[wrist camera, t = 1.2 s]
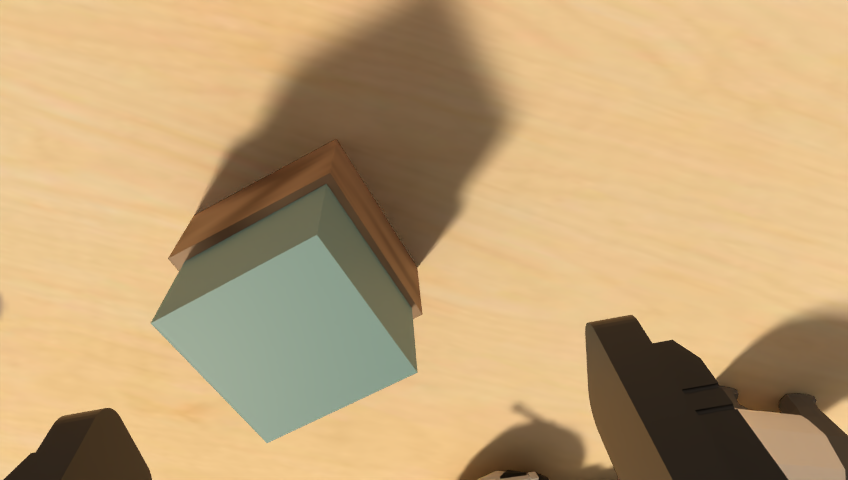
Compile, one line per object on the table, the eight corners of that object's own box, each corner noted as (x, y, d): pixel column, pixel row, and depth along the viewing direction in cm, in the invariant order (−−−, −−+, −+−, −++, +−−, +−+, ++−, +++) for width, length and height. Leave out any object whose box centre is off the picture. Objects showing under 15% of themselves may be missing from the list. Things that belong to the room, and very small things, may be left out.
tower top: (326, 183, 28) (316, 234, 24) (411, 307, 31) (417, 372, 27) (184, 261, 29) (150, 323, 25) (281, 371, 33) (267, 443, 28)
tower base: (336, 137, 32) (330, 172, 28) (416, 265, 36) (422, 314, 32) (195, 213, 34) (168, 258, 29) (287, 328, 38) (275, 383, 33)
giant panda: (663, 436, 44) (731, 561, 36) (694, 377, 41) (774, 496, 33) (842, 454, 46) (946, 576, 38) (882, 399, 44) (1002, 516, 35)
